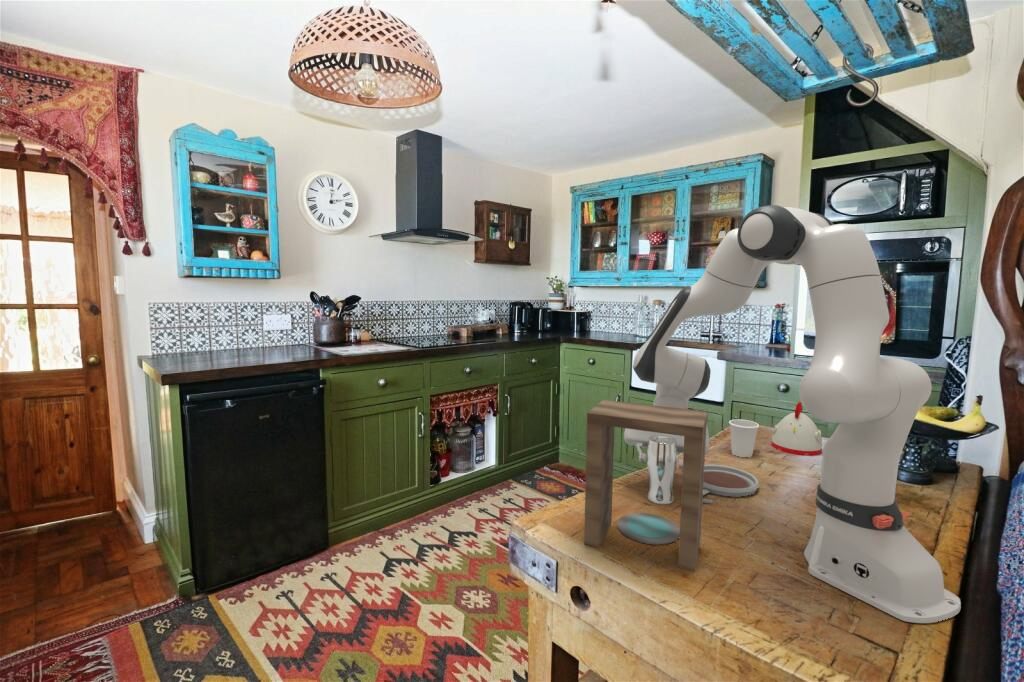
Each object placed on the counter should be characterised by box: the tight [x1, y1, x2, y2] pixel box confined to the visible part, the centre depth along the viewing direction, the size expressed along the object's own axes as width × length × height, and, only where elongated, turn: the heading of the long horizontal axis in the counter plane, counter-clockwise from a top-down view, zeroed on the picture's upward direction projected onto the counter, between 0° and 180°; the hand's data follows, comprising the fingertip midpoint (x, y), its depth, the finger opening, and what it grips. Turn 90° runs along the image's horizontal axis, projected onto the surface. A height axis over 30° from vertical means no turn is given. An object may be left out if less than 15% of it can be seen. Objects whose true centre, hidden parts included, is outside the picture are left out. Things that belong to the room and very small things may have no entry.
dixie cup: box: [728, 418, 760, 458], centre depth 147 cm, size 8×8×10 cm
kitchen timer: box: [771, 401, 823, 457], centre depth 153 cm, size 14×14×15 cm
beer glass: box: [646, 435, 678, 505], centre depth 116 cm, size 7×7×15 cm
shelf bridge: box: [583, 399, 709, 572], centre depth 99 cm, size 18×21×27 cm
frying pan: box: [681, 464, 760, 504], centre depth 122 cm, size 17×3×28 cm
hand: (661, 464), depth 116 cm, fingers open, 8 cm apart
